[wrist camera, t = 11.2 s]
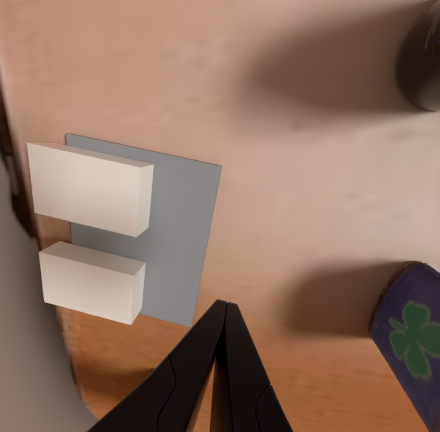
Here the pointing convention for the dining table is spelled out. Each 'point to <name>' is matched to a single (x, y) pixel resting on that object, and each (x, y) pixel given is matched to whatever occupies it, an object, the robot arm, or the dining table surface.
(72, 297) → the tile
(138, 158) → the mat
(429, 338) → the flask
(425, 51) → the supplement bottle
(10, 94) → the dining table surface
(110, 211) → the tile
